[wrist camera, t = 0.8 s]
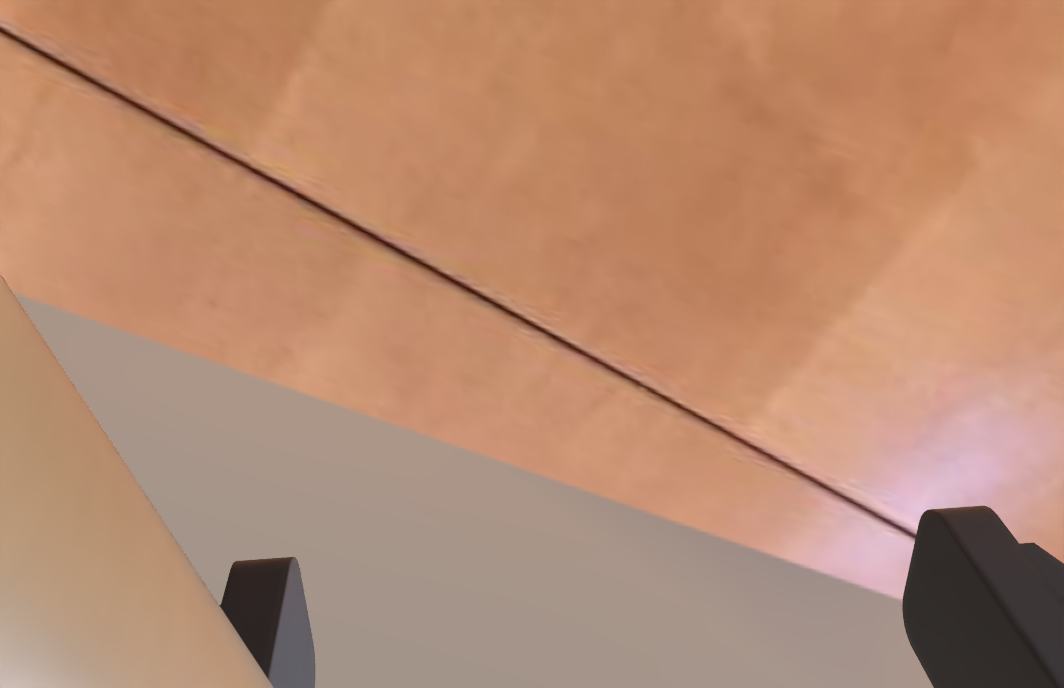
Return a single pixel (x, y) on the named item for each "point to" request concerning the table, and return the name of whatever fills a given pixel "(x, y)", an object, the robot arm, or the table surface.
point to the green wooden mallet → (91, 549)
